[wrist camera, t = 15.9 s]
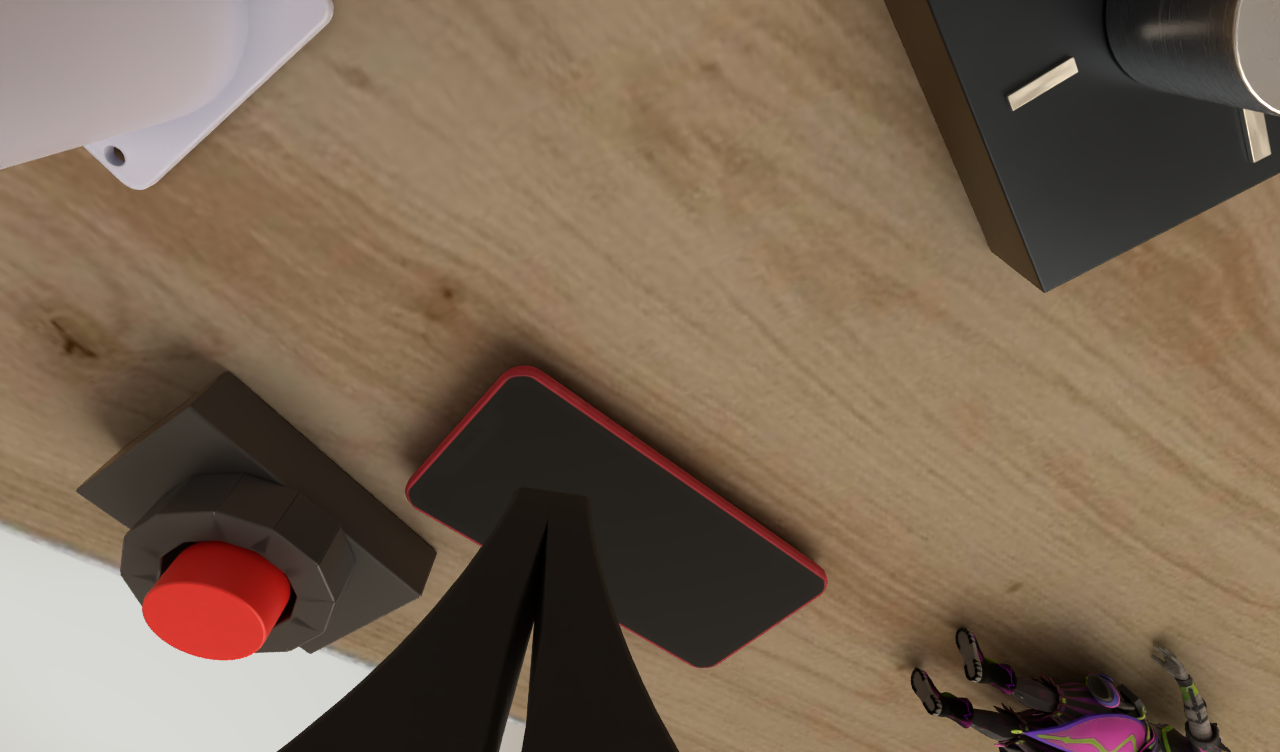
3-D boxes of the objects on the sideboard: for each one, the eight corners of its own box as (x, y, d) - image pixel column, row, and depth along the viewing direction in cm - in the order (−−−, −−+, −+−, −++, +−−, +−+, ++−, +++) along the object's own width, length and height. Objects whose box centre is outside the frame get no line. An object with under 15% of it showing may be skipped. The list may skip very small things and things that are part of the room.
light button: (153, 567, 21) (115, 612, 20) (224, 521, 20) (190, 565, 19) (244, 629, 23) (215, 675, 21) (314, 589, 22) (289, 634, 20)
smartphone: (704, 675, 28) (394, 498, 23) (702, 656, 29) (402, 481, 24) (838, 585, 25) (517, 360, 20) (832, 566, 26) (521, 346, 21)
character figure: (868, 699, 31) (1131, 796, 34) (891, 782, 28) (1180, 881, 30) (1005, 573, 27) (1294, 696, 29) (1051, 654, 23) (1371, 783, 26)
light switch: (115, 453, 23) (24, 534, 20) (232, 365, 22) (153, 438, 18) (329, 611, 28) (283, 700, 24) (443, 549, 26) (411, 636, 22)
